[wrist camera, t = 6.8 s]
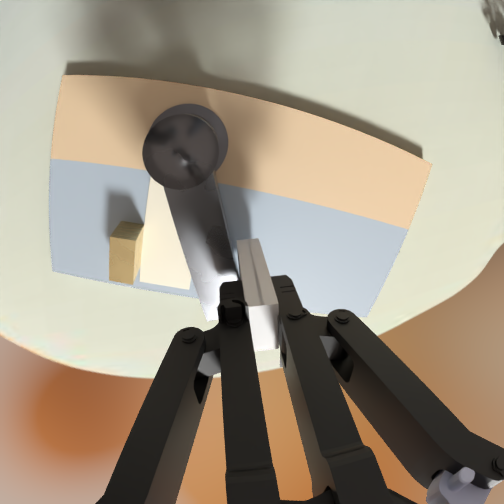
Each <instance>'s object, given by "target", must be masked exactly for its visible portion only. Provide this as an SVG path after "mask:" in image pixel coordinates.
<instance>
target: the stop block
mask: <svg viewBox="0 0 504 504" xmlns="http://www.w3.org/2000/svg"><path fill="white" fill-rule="evenodd" d="M143 232H144V224H139V223H133V222H127V221H121V222H120V223H119V224H118V226H117V227H116V229H115V230H114V231H113V233H112V234H111V236H110V245H109V281H115V282H120V283H125V284H131V285H133V284H134V281H135V279H136V276H137V273H138V271H139V268H140V266H141V253H142V242H143Z"/></svg>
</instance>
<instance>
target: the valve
mask: <svg viewBox="0 0 504 504" xmlns="http://www.w3.org/2000/svg"><path fill="white" fill-rule="evenodd" d="M499 39H500V42H501V45H504V35H499Z"/></svg>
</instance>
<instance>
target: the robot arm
mask: <svg viewBox="0 0 504 504" xmlns="http://www.w3.org/2000/svg"><path fill="white" fill-rule="evenodd" d="M237 252H238V264H239V275H240V280H238V281H228V282H223V283H222V284H221V286H220V287H219V297H220V304H219V305H218V307H217V312H218V319H219V323H218V324H217V325H216V326H215V327H214V328H212V329H210V330H207V331H204V332H203V331H202V330H200V329H199V328H195V327H187V328H184V329H181V330H180V331H178V332H177V333H176V334H175V336H174V338H173V340H172V342H171V344H170V346H169V348H168V350H167V353H166V355H165V357H164V359H163V361H162V363H161V365H160V367H159V370H158V372H157V374H156V376H155V378H154V380H153V383H152V385H151V387H150V389H149V392H148V394H147V396H146V398H145V400H144V403H143V405H142V407H141V409H140V411H139V414H138V416H137V418H136V420H135V423H134V425H133V427H132V429H131V432H130V434H129V436H128V439H127V441H126V443H125V446H124V448H123V450H122V452H121V455H120V457H119V460H118V462H117V464H116V467H115V469H114V472H113V474H112V476H111V479H110V481H109V484H108V486H107V488H106V491H105V493H104V495H103V496H102V498H100V500H99V501H98V502H96V504H175V503H176V500H177V496H178V493H179V490H180V486H181V483H182V479H183V476H184V473H185V469H186V466H187V463H188V459H189V456H190V452H191V449H192V446H193V442H194V439H195V436H196V432H197V429H198V426H199V422H200V419H201V415H202V412H203V409H204V405H205V402H206V399H207V395H208V392H209V389H210V385H211V382H212V379H213V375H214V374H217V373H220V372H221V383H222V384H221V385H222V404H223V423H224V438H225V453H226V468H227V469H226V474H225V480H226V493H227V504H417V503H415V502H413V501H411V500H409V499H407V498H406V497H404V496H402V495H400V494H398V493H396V492H394V491H392V490H390V489H388V488H387V486H386V484H385V481H384V479H383V476H382V473H381V471H380V468H379V465H378V463H377V460H376V457H375V455H374V453H373V451H372V450H371V448H370V447H368V446H365V445H363V443H362V441H361V438H360V435H359V433H358V430H357V428H356V425H355V422H354V420H353V417H352V415H351V412H350V410H349V407H348V405H347V402H346V400H345V397H344V395H343V392H342V390H341V387H340V385H341V386H342V387H343V389H344V390H345V391H346V393H347V394H348V395H349V396H350V398H351V399H352V400H353V402H354V403H355V404H356V405H357V407H358V408H359V409H360V411H361V412H362V413H363V415H364V416H365V417H366V418H367V420H368V421H369V422H370V424H371V425H372V426H373V428H374V429H375V430H376V431H377V433H378V434H379V435H380V437H381V438H382V439H383V440H384V442H385V443H386V444H387V446H388V447H389V448H390V449H391V451H392V452H393V453H394V455H396V457H397V458H398V460H399V461H400V462H401V463H402V465H403V466H404V467H405V469H406V470H407V471H408V472H409V473H410V474H411V476H412V477H413V478H414V479H415V480H416V481H417V482H419V483H420V484H421V485H422V486H423V487H425V488H426V489H428V491H427V497H426V501H427V503H428V504H484V502H485V501H486V499H487V496H488V495H489V493H490V491H491V489H492V488H493V487H494V486H495V485H497V484H498V483H500V482H501V481H503V480H504V448H502V447H500V446H498V445H496V444H494V443H491V442H489V441H488V440H486V439H484V438H482V437H480V436H478V435H476V434H474V433H472V432H470V431H469V430H468V429H467V428H466V427H465V426H464V425H463V424H462V423H461V422H460V421H459V420H458V419H457V417H456V416H455V415H454V414H453V413H452V412H451V411H450V410H449V409H448V408H447V407H446V406H445V405H444V404H443V403H442V402H441V401H440V400H439V399H438V397H437V396H435V394H434V393H433V392H432V391H431V390H430V389H429V388H428V387H427V386H426V385H425V384H424V383H423V382H422V381H421V380H420V379H419V378H418V377H417V376H416V375H415V374H414V373H413V372H412V371H411V370H410V369H409V368H408V367H407V366H406V365H405V364H404V363H403V362H402V361H401V360H400V359H399V358H398V357H397V356H396V355H395V354H394V353H393V352H392V351H391V350H390V349H389V348H388V347H387V346H386V345H385V344H384V343H383V342H382V341H381V340H380V339H379V338H378V337H377V336H376V335H375V334H374V333H373V332H372V331H371V330H370V329H369V328H368V327H367V326H366V325H365V324H364V323H363V322H362V321H361V320H360V319H359V318H358V317H357V316H356V315H355V314H354V313H353V312H351V311H349V310H346V309H336V310H333V311H331V312H330V313H329V314H328V317H321V316H314V315H311V314H310V312H309V311H308V310H307V309H306V308H304V307H303V306H302V303H301V301H300V298H299V296H298V293H297V291H296V288H295V286H294V284H293V281H292V279H291V278H289V277H288V276H287V275H279V276H270V273H269V270H268V267H267V264H266V260H265V257H264V254H263V251H262V247H261V244H260V241H259V238H254V239H244V240H237ZM279 346H280V367H282V365H283V369H284V373H285V377H286V381H287V385H288V389H289V393H290V397H291V401H292V405H293V408H294V412H295V416H296V420H297V424H298V428H299V432H300V436H301V440H302V444H303V447H304V452H305V455H306V459H307V463H308V467H309V471H310V475H311V479H312V492H313V498H311V499H309V500H306V501H289V500H280V497H279V491H278V485H277V480H276V474H275V470H274V467H273V463H272V457H271V452H270V446H269V440H268V434H267V428H266V422H265V415H264V409H263V404H262V398H261V391H260V385H259V378H258V372H257V366H256V359H255V353H254V351H262V350H270V349H278V348H279ZM339 383H340V385H339Z"/></svg>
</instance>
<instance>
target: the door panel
mask: <svg viewBox="0 0 504 504" xmlns="http://www.w3.org/2000/svg"><path fill="white" fill-rule="evenodd" d="M179 114H195V115H198V116H201V117H203V118H204V119H206V120H207V121H208V122H209V123H210V124H211V125H212V126H213V128H214V129H215V131H216V134H217V138H218V145H219V157H218V162H217V165H216V167H215V173H216V177H217V182H218V186H219V190H220V195H221V199H222V203H223V207H224V212H225V216H226V220H227V224H228V229H229V233H230V237H231V241H232V245H233V249H234V254H235V258H236V262H237V266H238V270H239V264H238V252H237V240H244V239H254V238H259V241H260V244H261V247H262V251H263V254H264V257H265V260H266V264H267V267H268V270H269V273H270V276H279V275H287V276H288V277H289V278H291V279H292V281H293V284H294V286H295V288H296V291H297V293H298V296H299V298H300V301H301V303H302V306H303V307H304V308H306V309H307V310H308V311H309V312H311V313H321V314H329V313H330V312H331V311H333V310H336V309H346V310H349V311H351V312H353V313H354V314H355V315H356V316H357V317H367V316H368V314H369V312H370V310H371V308H372V306H373V305H374V303H375V301H376V299H377V297H378V295H379V293H380V291H381V289H382V287H383V285H384V283H385V281H386V279H387V277H388V274H389V272H390V270H391V268H392V266H393V264H394V262H395V259H396V257H397V255H398V253H399V250H400V248H401V246H402V244H403V241H404V239H405V237H406V234H407V232H408V229H409V227H410V224H411V222H412V219H413V217H414V214H415V212H416V209H417V207H418V204H419V201H420V199H421V196H422V193H423V190H424V187H425V185H426V182H427V179H428V176H429V173H430V170H431V167H432V164H431V163H429V162H427V161H425V160H423V159H421V158H419V157H417V156H415V155H413V154H411V153H409V152H406V151H404V150H402V149H400V148H398V147H396V146H393V145H391V144H389V143H387V142H384V141H382V140H380V139H377V138H375V137H372V136H370V135H367V134H365V133H362V132H360V131H357V130H355V129H352V128H350V127H347V126H344V125H342V124H339V123H336V122H333V121H330V120H327V119H325V118H322V117H319V116H316V115H313V114H309V113H306V112H303V111H300V110H297V109H293V108H290V107H287V106H283V105H279V104H276V103H272V102H268V101H265V100H261V99H257V98H253V97H249V96H244V95H240V94H236V93H231V92H226V91H222V90H217V89H211V88H206V87H201V86H195V85H189V84H182V83H176V82H168V81H161V80H152V79H143V78H132V77H119V76H99V75H63V76H62V81H61V86H60V91H59V97H58V102H57V109H56V115H55V122H54V130H53V139H52V150H51V163H50V183H49V225H50V246H51V259H52V269H53V271H54V272H58V273H63V274H67V275H72V276H77V277H81V278H86V279H91V280H96V281H101V282H106V283H111V284H116V285H122V286H127V287H133V288H138V289H144V290H149V291H155V292H161V293H167V294H173V295H179V296H186V297H192V298H199V297H198V295H197V292H196V289H195V286H194V283H193V280H192V277H191V274H190V271H189V268H188V265H187V262H186V259H185V256H184V253H183V250H182V247H181V244H180V241H179V238H178V234H177V231H176V228H175V225H174V221H173V218H172V215H171V211H170V208H169V205H168V201H167V198H166V194H165V191H164V187H163V186H162V185H160V184H159V183H157V182H156V181H155V180H154V179H153V178H152V177H151V176H150V175H149V173H148V172H147V170H146V168H145V166H144V162H143V157H142V150H143V144H144V141H145V138H146V136H147V134H148V133H149V131H150V130H151V128H152V127H153V126H154V125H155V124H157V123H158V122H159V121H161V120H162V119H164V118H166V117H169V116H173V115H179ZM121 221H127V222H133V223H139V224H144V232H143V242H142V253H141V266H140V268H139V271H138V273H137V276H136V279H135V281H134V284H133V285H131V284H125V283H120V282H115V281H109V245H110V236H111V234H112V233H113V231H114V230H115V229H116V227H117V226H118V224H119V223H120V222H121Z"/></svg>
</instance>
